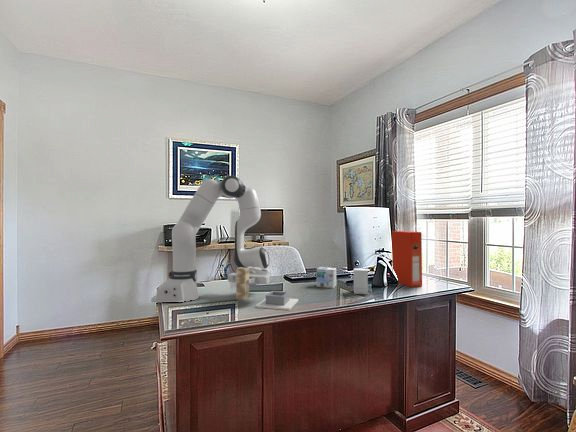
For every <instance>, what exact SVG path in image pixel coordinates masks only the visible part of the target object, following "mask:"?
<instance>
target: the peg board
mask: <svg viewBox="0 0 576 432" xmlns="http://www.w3.org/2000/svg"><path fill="white" fill-rule="evenodd" d="M298 302H299V298H291V297H290V291H279V290H271V291H270V292H268V293H266V295H265V298H264V299H263V300H261V301H260V302H258V303H257V304H256V305H255V308H260V309H270V310H271V309H272V310H285V311H291V309H293V307H294V306H295V305H296V304H297V303H298Z"/></svg>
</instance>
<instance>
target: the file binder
mask: <svg viewBox="0 0 576 432" xmlns="http://www.w3.org/2000/svg"><path fill="white" fill-rule="evenodd" d="M422 237H423V236H422V231H408V230H407V231H406V230H397V231H396V230H392V231H391V252H392V253H391V255H392V256H391V257H392V259H391V262H392V266H393V267H392V270H393V269H394V271H395V273H396V275H397V278H398V283H397V284H399V285H403V286H406V287H409V288H419V287H422V286H423V259H422V258H423V257H422V256H423V254H422V252H423V249H422V246H423V245H422Z"/></svg>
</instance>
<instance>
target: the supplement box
mask: <svg viewBox="0 0 576 432" xmlns="http://www.w3.org/2000/svg"><path fill="white" fill-rule="evenodd" d="M368 275H369V271H368V268H363V267H361V268H357V267H356V268H355V267H354V268H353V294H355V295H357V294H358V295H369V282H368V281H369V276H368Z"/></svg>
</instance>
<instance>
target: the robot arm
mask: <svg viewBox="0 0 576 432" xmlns="http://www.w3.org/2000/svg"><path fill="white" fill-rule="evenodd" d="M220 197H222V198H226V199H235V200H236V201H237V203H238V208H239V216H238V218H237V220H236V222H235V223H234V224H235V227H234V253H233V262H234V263H233V264H234V266H236V267H237V268H240V267H246V268H249V279H247V283H248V284H249V286H257V285H268V284H270V280H271V279H270V278H271V277H270V275H271V274H270V273H271V267H270V257H269V253H268V251H267V250H266V249H265V248H264V247H261V246H260V247H254V248H253V247H252V248H246V249H245V232H246V231H247V230H248V229H249V228H251V227H253V226H255V225H256V224H257V223H258V222H259V221H260V219H261V217H262V212H261V206H260V205H261V204H260V201H259V197H258V194H257V191H256V189H254V188H252V187H246V185H244V183H243V181H242V180H241V179H240V178H239V177H237V176H236V175H227V176H225V177H224V178H223V179H222V180H221V181H217V180H215V179H210V178H209V179H206V180H204V181H203V183H202V184H201V185H200V186H199V187H198V189H197V190H196V192H195V193H194V194H193V196H192V198H191V199H190V201H189V202H188V204H187V205H186V207H185V209H184V211H183V213H182V215H181V216H180V218H179V220H178V221H177V223H176V224H174V226H173V227H172V228H171V229H172V230H171V242H172V243H171V245H172V247H171V248H172V269H171V270H170V271H169V272H168V273H167V274H168V275H167V276H168V279H167V280H165V281H164V282H162V283H161V284H160V285H159V286H158V287H157V290H156V294H155V295H154V296H153V297H151V299H150V302H151V303H162V302H183V303H185V302H184V301H186V302H190V300H192V301H194V300H197V299H199V298H200V295H199V294H200V293H199V290H198V286H197V285H198V284H197V279H198V270H197V250H196V249H197V247H196V246H197V245H196V244H197V242H196V241H197V240H196V239H197V236H196V235H197V234H198V233H199V230H200V229H201V227H202V225H203V224H204V222H205V221H206V219H207V217H208V216H209V214H210V213H211V211H212V209H213V208H214V205H215V204H216V202H217V200H218V199H219V198H220ZM227 281H228V282H229V283H235V284H236V272H232V273H229V274H228V275H227Z"/></svg>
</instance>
